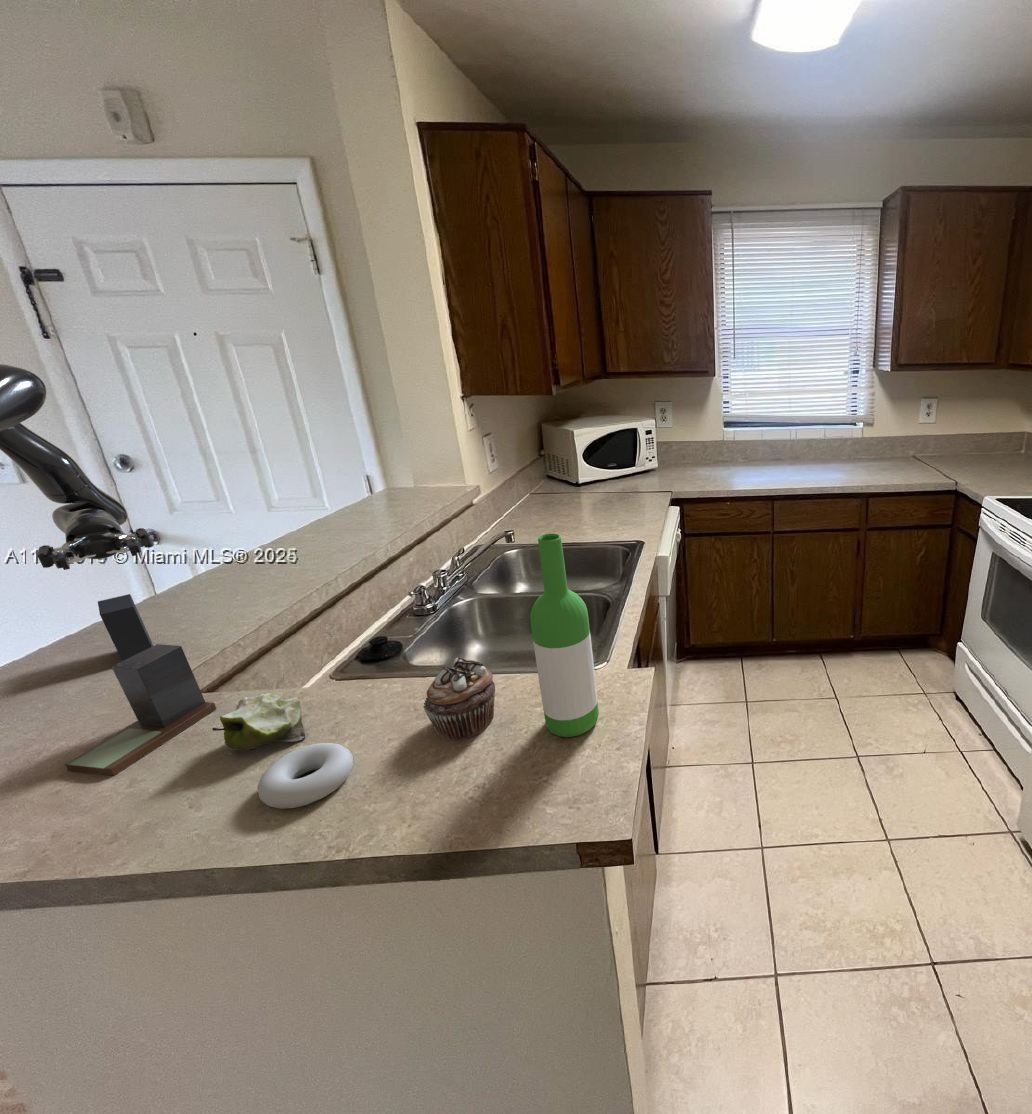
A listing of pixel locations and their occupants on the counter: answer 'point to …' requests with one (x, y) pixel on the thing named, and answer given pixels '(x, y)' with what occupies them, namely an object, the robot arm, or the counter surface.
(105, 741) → the grey block on board
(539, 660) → the wine bottle
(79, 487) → the robot arm
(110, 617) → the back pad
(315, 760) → the donut
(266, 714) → the fruit
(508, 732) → the counter surface
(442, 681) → the cupcake
